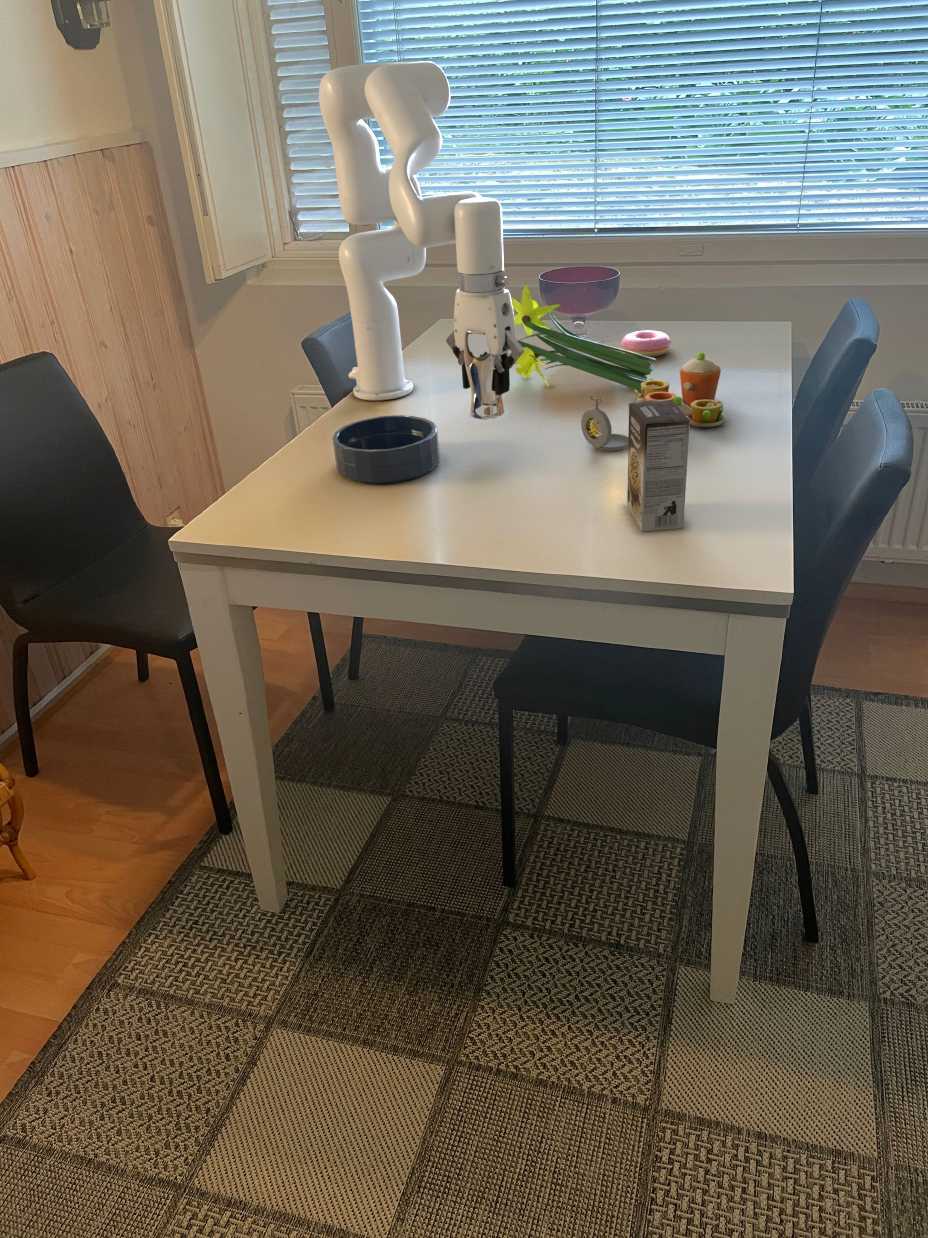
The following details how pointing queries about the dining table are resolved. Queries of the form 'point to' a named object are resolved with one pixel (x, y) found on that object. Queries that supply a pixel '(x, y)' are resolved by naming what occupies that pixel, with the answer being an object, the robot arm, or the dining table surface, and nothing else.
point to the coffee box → (657, 464)
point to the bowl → (386, 449)
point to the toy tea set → (691, 392)
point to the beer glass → (481, 377)
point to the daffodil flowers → (528, 359)
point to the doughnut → (646, 343)
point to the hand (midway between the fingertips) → (486, 388)
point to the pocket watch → (601, 430)
